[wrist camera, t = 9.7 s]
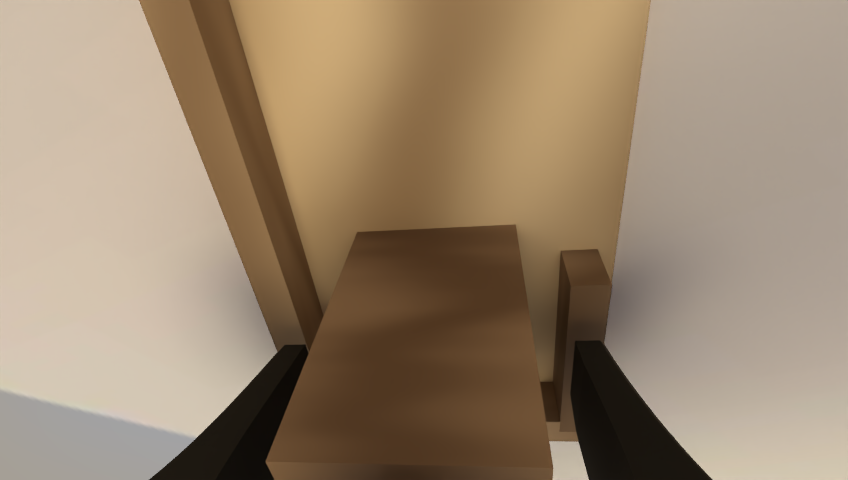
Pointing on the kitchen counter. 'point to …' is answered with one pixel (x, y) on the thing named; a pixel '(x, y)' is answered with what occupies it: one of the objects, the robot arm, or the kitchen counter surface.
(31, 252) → the kitchen counter surface
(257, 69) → the cleat board
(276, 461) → the cabinet block
